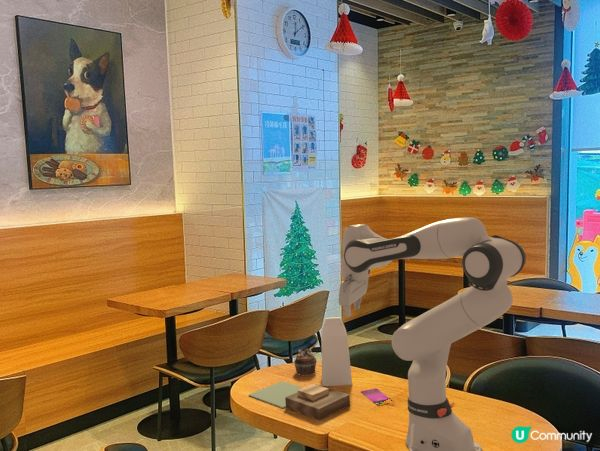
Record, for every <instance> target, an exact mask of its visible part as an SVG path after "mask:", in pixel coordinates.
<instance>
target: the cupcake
mask: <svg viewBox="0 0 600 451" xmlns="http://www.w3.org/2000/svg"><path fill="white" fill-rule="evenodd" d="M317 363H318V362H317V358H316V357H315V354H314V353H313V352H312V349H311V348H310V347H309V348H300V349H299V350H298V353H297V354H296V356H295V360H294V364H293V365H294V367H295V371H296V374H297V373H298V374H300V375H299V376H301V375H308V376H312V375H314V374H315V373H316V367H317V366H316V365H317ZM298 374H297V375H298Z"/></svg>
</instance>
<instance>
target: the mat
mask: <svg viewBox="0 0 600 451" xmlns="http://www.w3.org/2000/svg"><path fill="white" fill-rule="evenodd" d="M302 388H304V387H302V386H300V385H296V384H293V383H290V382H287V381H284V380H282V381H278V382H277V383H274V384H271V385H269V386H267V387H264V388H262V389H259V390H257V391H254V392H252V393H249V394H248V396H249V397H250V396H251V398H254V399H256V400H259V401H260V402H263V403H266V404H267V403H268V404H269V405H271V406H275V407H278V408H281V409H287V408H286V401H285V397H287V396H290V395H292V394H294V393H297V392H298V390H299V389H302Z"/></svg>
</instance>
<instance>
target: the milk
mask: <svg viewBox="0 0 600 451" xmlns="http://www.w3.org/2000/svg"><path fill="white" fill-rule="evenodd" d="M320 341H321V386H323V387H331V386H332V387H333V386H352V385H353V376H352V369H351V359H350V358H351V357H350V351H349V350H350V347H349V342H348V341H349V340H348V334H347V329H346V327H345V324H344V322H343V319H342V317H340V316H335V317H326V318H325V320H324V322H323V325H322V329H321V340H320Z"/></svg>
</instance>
